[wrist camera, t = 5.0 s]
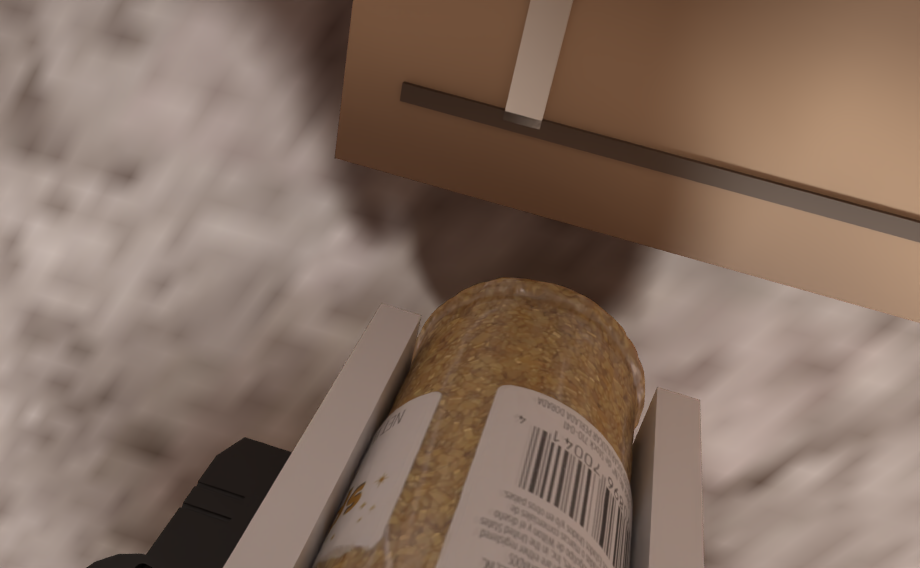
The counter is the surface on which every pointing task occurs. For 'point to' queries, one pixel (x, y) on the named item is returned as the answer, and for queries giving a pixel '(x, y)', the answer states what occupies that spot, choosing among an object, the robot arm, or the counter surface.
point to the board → (664, 125)
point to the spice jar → (501, 441)
